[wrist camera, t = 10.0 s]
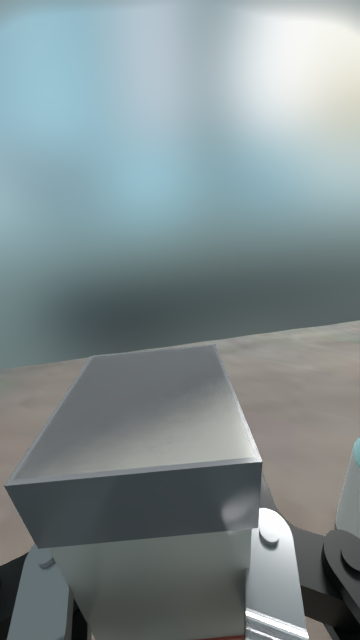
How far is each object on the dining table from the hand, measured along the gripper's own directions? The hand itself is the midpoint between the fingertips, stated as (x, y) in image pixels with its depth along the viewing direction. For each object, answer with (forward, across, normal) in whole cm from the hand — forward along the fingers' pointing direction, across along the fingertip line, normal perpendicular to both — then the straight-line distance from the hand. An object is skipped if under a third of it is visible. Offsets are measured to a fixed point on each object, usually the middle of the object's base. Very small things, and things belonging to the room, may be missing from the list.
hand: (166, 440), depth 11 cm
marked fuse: (-3, 0, +8) cm, 8 cm away
